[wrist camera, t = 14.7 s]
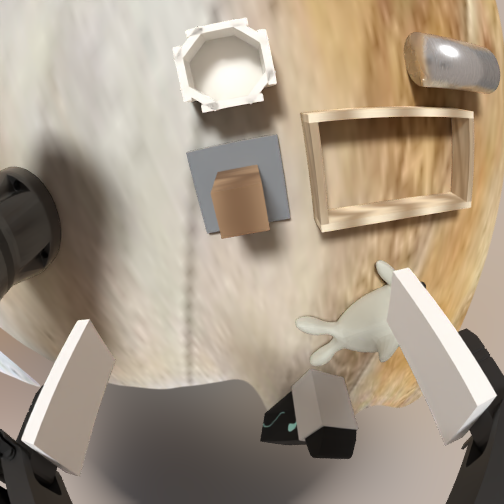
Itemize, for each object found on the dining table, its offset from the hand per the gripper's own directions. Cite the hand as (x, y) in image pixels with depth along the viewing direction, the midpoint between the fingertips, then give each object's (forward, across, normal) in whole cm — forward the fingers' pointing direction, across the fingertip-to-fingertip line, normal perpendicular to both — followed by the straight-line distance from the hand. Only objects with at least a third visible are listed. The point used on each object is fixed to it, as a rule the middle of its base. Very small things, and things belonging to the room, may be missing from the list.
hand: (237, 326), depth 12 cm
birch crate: (+21, +17, 0) cm, 27 cm away
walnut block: (+20, 0, 0) cm, 20 cm away
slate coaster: (+21, 0, 0) cm, 21 cm away
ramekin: (+21, +1, +12) cm, 24 cm away
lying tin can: (+21, +25, +11) cm, 34 cm away
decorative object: (+21, +3, -41) cm, 46 cm away
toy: (+21, +13, -20) cm, 32 cm away
